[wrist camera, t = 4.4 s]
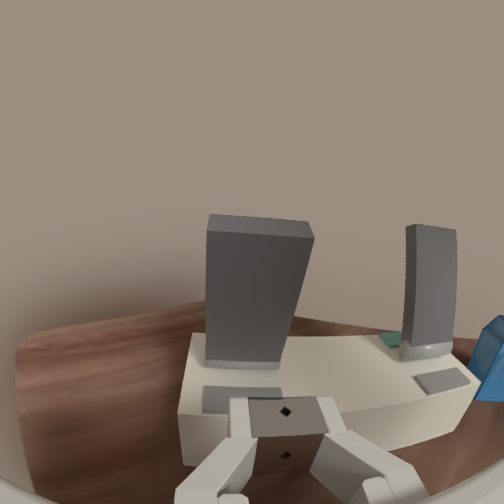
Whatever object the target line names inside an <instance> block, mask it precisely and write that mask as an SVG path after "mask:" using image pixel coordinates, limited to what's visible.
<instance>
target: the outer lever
mask: <svg viewBox="0 0 504 504" xmlns="http://www.w3.org/2000/svg"><path fill="white" fill-rule="evenodd" d="M313 243H314V235H313V233H312V230H311V228H310V226H309V223H308V222H307V221H296V220H284V219H272V218H259V217H246V216H231V215H216V214H210V216H209V221H208V227H207V245H206V343H205V367H217V368H238V369H279V368H280V364H281V356H282V353H283V349H284V346H285V343H286V340H287V336H288V333H289V330H290V326H291V323H292V320H293V316H294V313H295V309H296V306H297V302H298V298H299V295H300V292H301V288H302V284H303V281H304V277H305V273H306V269H307V266H308V262H309V258H310V254H311V250H312V247H313Z"/></svg>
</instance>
